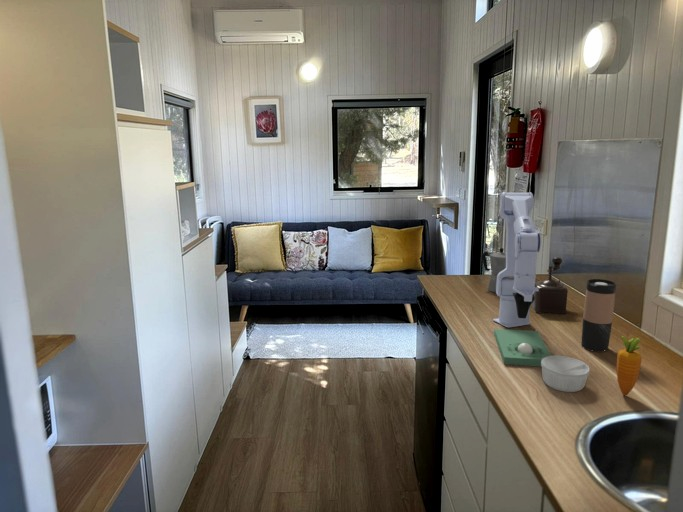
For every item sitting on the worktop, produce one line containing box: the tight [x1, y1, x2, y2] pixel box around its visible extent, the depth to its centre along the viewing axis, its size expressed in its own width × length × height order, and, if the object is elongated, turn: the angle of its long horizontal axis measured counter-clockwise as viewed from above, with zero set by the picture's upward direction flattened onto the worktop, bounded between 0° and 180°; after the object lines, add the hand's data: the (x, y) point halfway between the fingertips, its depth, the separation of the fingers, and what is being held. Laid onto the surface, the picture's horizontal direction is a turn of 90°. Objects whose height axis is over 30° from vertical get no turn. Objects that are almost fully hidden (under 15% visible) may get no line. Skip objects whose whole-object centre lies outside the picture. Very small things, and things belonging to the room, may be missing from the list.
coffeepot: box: [481, 247, 510, 294], centre depth 204 cm, size 15×9×18 cm, turn 44°
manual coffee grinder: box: [530, 256, 569, 315], centre depth 181 cm, size 16×11×18 cm
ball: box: [518, 343, 533, 354], centre depth 140 cm, size 4×4×4 cm
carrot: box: [616, 335, 642, 396], centre depth 116 cm, size 5×5×15 cm
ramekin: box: [540, 355, 591, 393], centre depth 124 cm, size 11×11×5 cm
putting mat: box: [493, 328, 553, 367], centre depth 145 cm, size 22×13×2 cm, turn 170°
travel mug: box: [581, 278, 617, 352], centre depth 144 cm, size 8×8×20 cm
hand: (521, 317), depth 146 cm, fingers closed
